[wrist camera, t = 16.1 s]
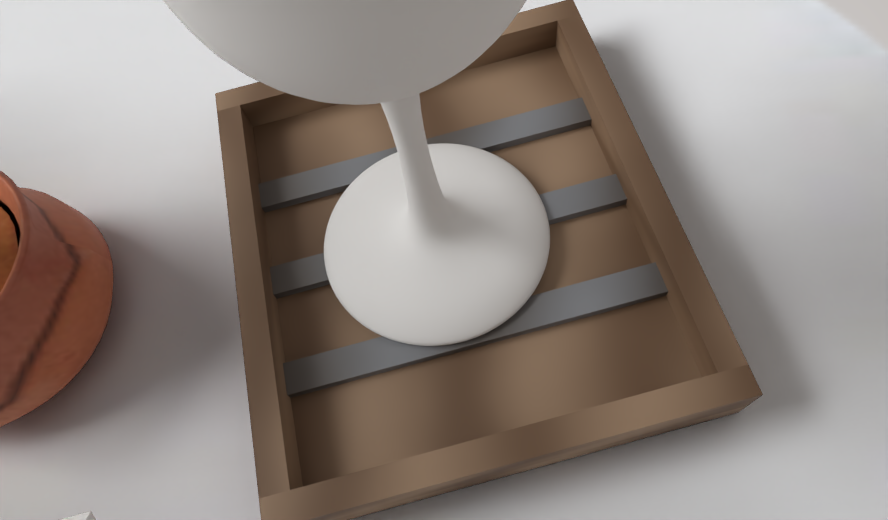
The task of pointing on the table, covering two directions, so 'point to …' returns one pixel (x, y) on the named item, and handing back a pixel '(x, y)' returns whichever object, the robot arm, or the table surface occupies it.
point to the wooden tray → (496, 352)
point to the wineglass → (399, 157)
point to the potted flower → (47, 296)
